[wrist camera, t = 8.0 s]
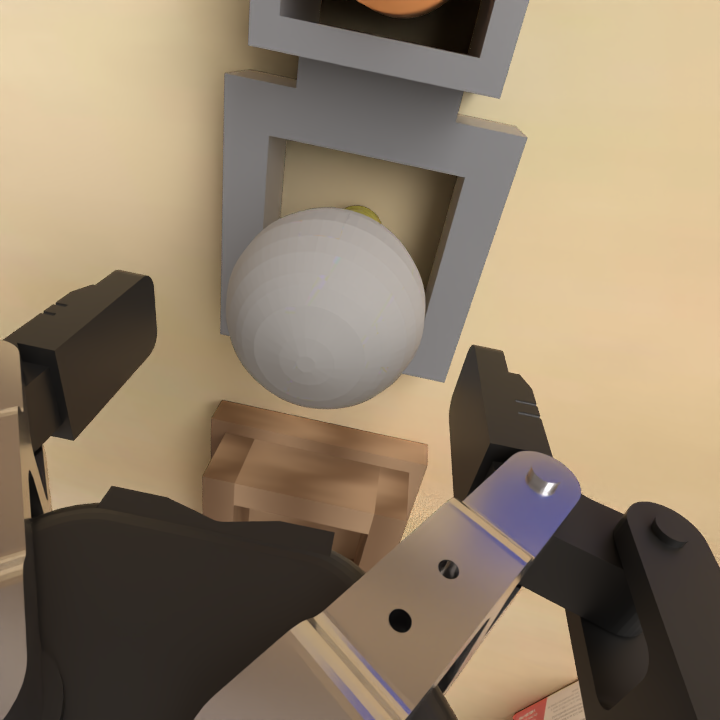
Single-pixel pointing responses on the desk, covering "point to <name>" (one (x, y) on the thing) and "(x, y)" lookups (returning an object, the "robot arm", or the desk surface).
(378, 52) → the bulb socket block
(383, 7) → the orange ball
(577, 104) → the desk surface
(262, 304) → the light bulb
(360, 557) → the bulb rack
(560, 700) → the ink cartridge box
